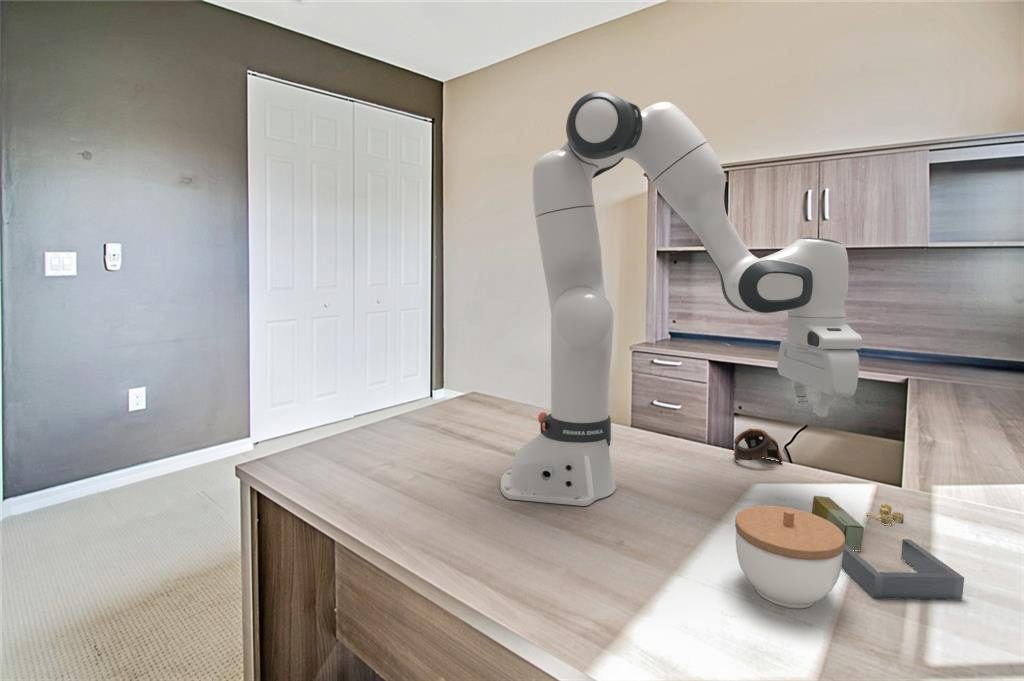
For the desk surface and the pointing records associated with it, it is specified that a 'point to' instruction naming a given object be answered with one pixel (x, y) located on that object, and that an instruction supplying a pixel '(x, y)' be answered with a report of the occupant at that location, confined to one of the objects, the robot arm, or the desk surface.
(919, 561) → the bracket
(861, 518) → the desk surface
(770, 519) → the lidded white bowl
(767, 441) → the brown jagged ring
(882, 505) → the dice set
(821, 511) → the medication box
